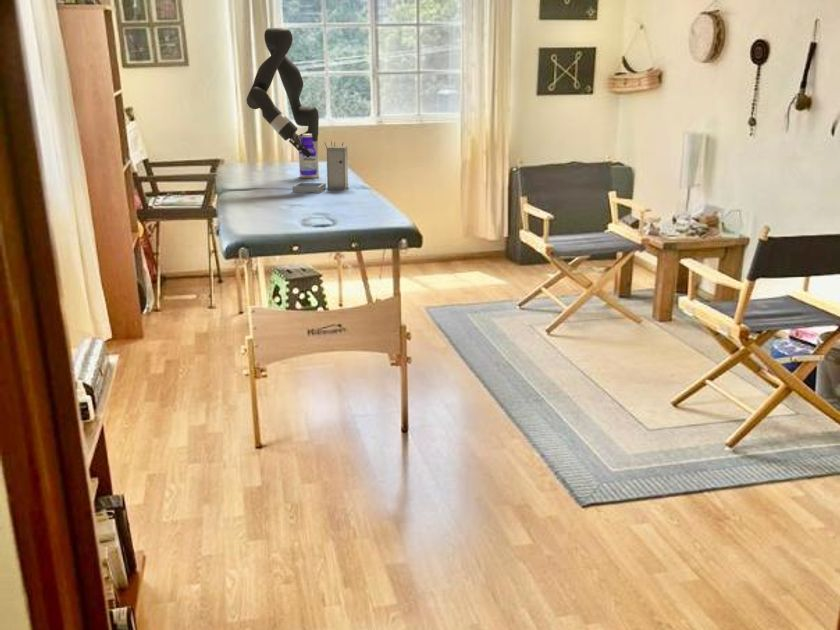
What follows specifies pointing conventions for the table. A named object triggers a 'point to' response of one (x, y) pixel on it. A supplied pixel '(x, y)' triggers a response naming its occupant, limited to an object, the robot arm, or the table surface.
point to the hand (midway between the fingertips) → (311, 155)
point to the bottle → (309, 164)
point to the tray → (309, 187)
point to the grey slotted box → (337, 167)
